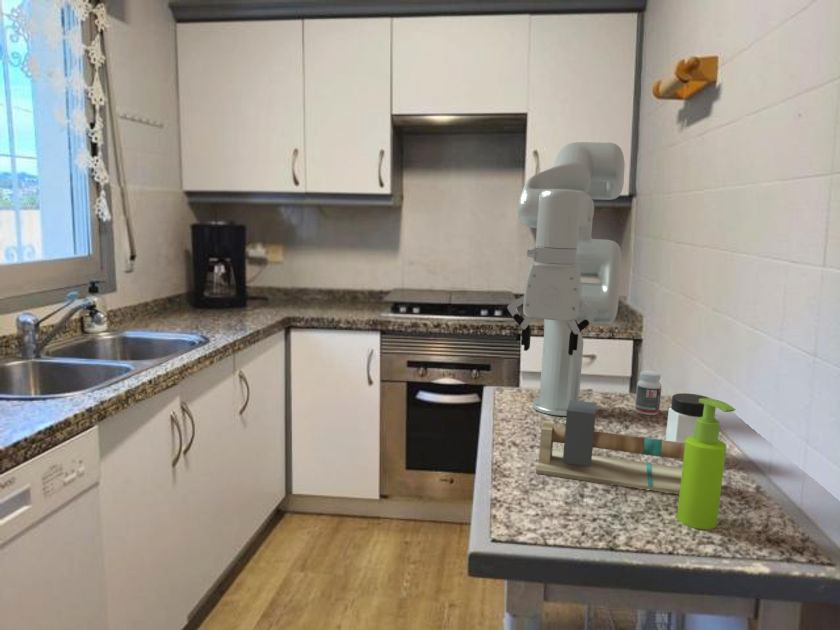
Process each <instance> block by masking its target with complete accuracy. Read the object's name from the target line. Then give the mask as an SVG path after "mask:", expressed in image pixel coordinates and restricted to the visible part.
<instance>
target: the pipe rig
mask: <svg viewBox="0 0 840 630" xmlns="http://www.w3.org/2000/svg"><path fill="white" fill-rule="evenodd" d="M555 423H556V422H554V421H545V420H544V421H543V423H542V425H541V427H540V437H539V438H540V439H539V440H540V441H539V453H538V464H537V466H536V470H535V474H537V475H543V476H549V477H557V478H563V479H571V480H577V481H582V482H583V481H584V482H589V481H590V482H591V483H595V482H597V483H596V484H602V483H605V484H604V485H608V484H613V485H612V486H615V485H620V486H619V487H622V486H628V487H635V488H642V489H649V490H654V491H661V492H668V493H674V494H680V485H681V476H682V467H680V466H672V465H666V464H658V463H651V462H648V461H646V462H644V461H638V460H631V459H623V458H618V457H617V458H616V457H610V456H602V455H596V454H595V455H594V454H592V459H591V466H590V467H589V466H582V465H576V464H569V463H563V452H564V450H560V449H554V443H558V444H564V440H565V428H566V426H565V427H564V426H558V425H555ZM592 447H593V448H595V449H602V450H610V451H617V452H624V453H625V452H626V453H633V454H639V455H644V456H653V457H660V458H661V457H662V458H668V459H674V460H677V459H681V460H680V461H682V460H683V458H684V449H685V443H680V442H673V441H666V439H656V438H648V437H641V436H633V435H627V434H617V433H611V432H603V431H602V432H601V431H595V430H594V434H593V445H592ZM628 487H627V488H628ZM635 488H634V489H635ZM654 491H653V492H654ZM661 492H660V493H661ZM668 493H667V494H668ZM674 494H673V495H674Z"/></svg>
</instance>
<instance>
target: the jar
mask: <svg viewBox="0 0 840 630" xmlns="http://www.w3.org/2000/svg"><path fill="white" fill-rule="evenodd" d="M671 398H672V399H671V405H670V406H669V407H668V413H667V423H666V433H665V441H673V442H680V443H685V440H686V438H687V437H691V436H695V428H696V420H697V418H700V417H702V416H703V410H704V404H703V403H700V402H699V399H701V398H710V397H708V396H705V395H702V394H697V393H696V394H695V393H685V392H684V393H683V392H682V393H680V392H679V393H675V394H673V395H672V396H671ZM715 419H717V414H715ZM676 461H682V462H683V460H681V459H676Z"/></svg>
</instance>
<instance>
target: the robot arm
mask: <svg viewBox="0 0 840 630" xmlns="http://www.w3.org/2000/svg"><path fill="white" fill-rule="evenodd" d="M624 182H625V156H624V152H623V150H622V148H621V147H620V145H618V144H616V143H613V142H588V141H586V142H585V141H583V142H582V141H579V142H578V141H576V142H571V143H568V144H566V145H564V146H563V147H562V148H561V149H560V150H559V152H558V153H557V156H556V159H555V163H554V165H553V167H550V168H547V169H545V170H542V171H540V172H538V173H536V174H533V175H532V176H531V177H529V178H528V179H527V181H526V182H525V184H524V185H523V188H522V191H521V193H520V195H519V199H518V204H517V216H518V219H519V222H520V223H521V224H522V225H523V226H525V227H526V228H531V229H536V236H535V247H534V248H532V249H527V252H526V256H527V258H531V259H533V262H532V263H530V264H529V267H528V270H527V274H526V275H527V276H526V281H525V289H524V295H522V296H521V297H520V298H517V299H516V300H514V301H513V302H511V303H510V304H508V305H507V307H506V308H507V310H508V312H509V313H510V314H511V316H512V318H513V320H514V321H515V322H516V323H517V325H518V326H519V327H520V329H521V340H520V342H521V343H520V345H521V346H523V351H526V352H527V351H528V350H529V349H530V346H531V336H532V335H531V334H532V328H531V327H530V326H531V322H533V320H534V319H536V320H537V319H538V320H543V324H544V325H543V328H544V329H543V344H542V346H543V347H542V359H541V360H542V361H541V371H540V372H541V373H540V374H541V375H540V385H539V387H540V388H539V398H535V399H534V400H533V401H532V409H534V410H536V411H538V412H540V413H543V414H546V415H552V416H558V417H559V416H560V417H566V415H567V408H568V405H569V402H570V400H576V401H580V399H579V398H580V390H581V379H582V366H583V354H584V353H583V352H584V351H583V350H584V339H583V338H584V337H583V335H582V334H581V332H582V331H583V330H584V329H585V328H588V326H589V325H590V324H597V325H598V324H599V325H600V324H601V325H608V324H611V323H613V322H614V321H615V320H616V318H617V314H618V311H619V309H618V308H619V300H620V299H619V297H620V286H621V272H622V250H621V246H620V245H619V244H618V243H617V242H616V241H614V240H611V239H601V238H592V230H593V229H592V228H593V218H594V214H595V203H594V200H606V201H607V200H608V201H610V200H615V199H617V198H618V197H619V196H620V195H621V194H622V191H623V189H624ZM582 278H583V279H596V280H598V281H599V282H600V283H595V282H594V283H591V282H582ZM522 305H523V306H522ZM520 306H522V309H523V310H522V311H523V315H524V316H525V318H524V317H523V316H522V315H521V313H520V312H519V310H518V307H520Z"/></svg>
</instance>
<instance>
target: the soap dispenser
mask: <svg viewBox="0 0 840 630" xmlns="http://www.w3.org/2000/svg"><path fill="white" fill-rule="evenodd" d="M699 402H700V403H703V404H704V410H703V416H702V417H700V418H697V420H696V428H695V436H691V437H687V438H686V440H685V449H684V458H683V461H682V467H681V468H682V476H681V485H680V494H679V495H678V502H677V503H678V504H677V515H676V519H677V518H678V519H677V520H678V521H679V522H680V523H681V522H682V524H683V525H684V526H687V527H690V528H694V529H696V530H697V529H699V530H713V529H716V527H717V525H718V517H719V510H720V503H721V502H720V501H721V492H722V484H723V477H724V476H723V475H724V469H725V468H724V467H725V460H726V451H727V444H726V443H724V442H723V441H722V440H719V435H720V427H721V425H720V424H721V422H720V420H718V419H717V418H716V419H715V415H716V410H717V409H718V410H720V411H722V412H723V413H729V412H730V413H731V412H734V411H736V409H735V408H734V407H733V406H732V405H730V404H729V403H727V402H724V401H721V400H718V399H714V398H711V397H709V398H701V399H699Z"/></svg>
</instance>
